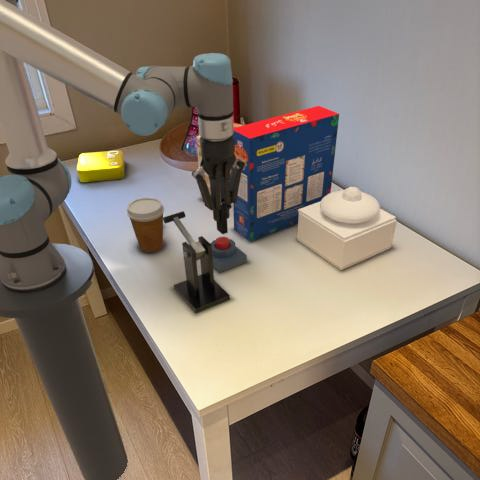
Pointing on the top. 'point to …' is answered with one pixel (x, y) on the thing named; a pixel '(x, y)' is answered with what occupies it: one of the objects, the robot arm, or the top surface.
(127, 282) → the top surface
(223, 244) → the button
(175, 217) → the lever
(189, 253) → the bracket
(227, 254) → the button box
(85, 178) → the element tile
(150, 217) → the disposable coffee cup
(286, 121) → the blue cereal box
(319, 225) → the white domed box
